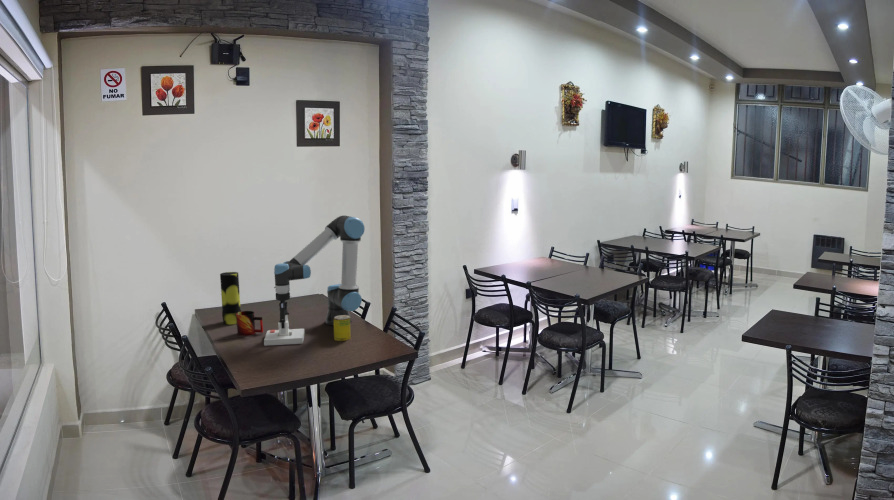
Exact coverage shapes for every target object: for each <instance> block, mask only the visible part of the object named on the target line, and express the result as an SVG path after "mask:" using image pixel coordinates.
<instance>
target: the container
mask: <svg viewBox="0 0 894 500" xmlns="http://www.w3.org/2000/svg"><path fill="white" fill-rule="evenodd" d="M219 275H220V276H219V277H220V292H221V293H220V295H221V306H222V307H221V309H222V311H221V315H222V316H221V317H222V322H223V323H222V324H224V325H229V326H230V325H231V326H233V325H237V317H236V313H238V312H242V309H241V295H240V294H241V293H240V279H239V278H240V277H239V272H238V271H228V272H227V271H226V272H222V273H220V274H219Z"/></svg>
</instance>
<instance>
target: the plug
mask: <svg viewBox="0 0 894 500" xmlns="http://www.w3.org/2000/svg"><path fill="white" fill-rule="evenodd" d="M285 322H286V334H281V326H280V323H279V322H278V330H279V336H289V329H290V326H289V324H290V322H289V320H288V321H285Z"/></svg>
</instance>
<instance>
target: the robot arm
mask: <svg viewBox="0 0 894 500" xmlns="http://www.w3.org/2000/svg"><path fill="white" fill-rule="evenodd" d="M364 234H365V225H364V223H363V221H362V220H361V219H360V218H359V217H355V216H348V215H340V216H337V217H335V219H333V220H332V221H330V223H328V224H327V225H326V226H325V227H324V230H323V231H322V232H321V233H320V234H318V235H317V236H316V237H315V238H314V239H313V240H312V241H310V242H309V243H308V244H306V246H305V247H304V248H302V249H301V250H300V251H299V252H298V253H297V254H296V255H295V256H293V257H292V258H291V259H290V260H286V261H284V262H283V263H276V264H275V265H274V269H273V270H274V271H273V274H274V287H273V288H274V289H275V290H274V291H275V300H276V301H280V302H279V305H278V306H279V320H278V323H280V326H281V334H286V322H285V321H288V322H289V319H288V318H289V317H288V315H290V313H289V312H288V311H289V310H288V301H289V300H290V299H291V293H290V291H291V288H290V287H291V286H290V281H297V280H305V279H309V278H311V274H312V273H311V272H312V270H311V267H310V266H309V265H308V263H309V262H310V261H312V259H313V258H315V257H316V256H317V255H318V254H319V253H320V252H321V251H323V249H325V248H326V247H327V246H328V245H329V244H331V243H332V241H335V240H338V239H340V240H339V241H341V243H342V254H341V255H342V256H341V257H342V258H341V283H337V284H331V285H328V286H327V289H326V290H327V291H326V294H327V313H326V317H325V324H326V325H330V326H334V319H333V317H335V316H338V315H348V316H350V323H351V322H352V316H351V314H350V312H355V311H356V310H357V309H358V308H360V307H361V305H362V301H363V299H362V296H361V294H360V293H359V290H360V288H359V286H358V284H357V278H358V277H357V275H358V274H357V271H358V250H359V249H358V247H359V243H360V242H361V241H362V240H361V239H362V237H363V235H364Z"/></svg>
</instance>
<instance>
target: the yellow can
mask: <svg viewBox="0 0 894 500" xmlns="http://www.w3.org/2000/svg"><path fill="white" fill-rule="evenodd" d="M350 316H351V315H350ZM350 316H348V315H338V316H335V317H333V319H334V325H333V339H334V341H338V342H345V341H349V340H351V338H352V337H351V322H350Z"/></svg>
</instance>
